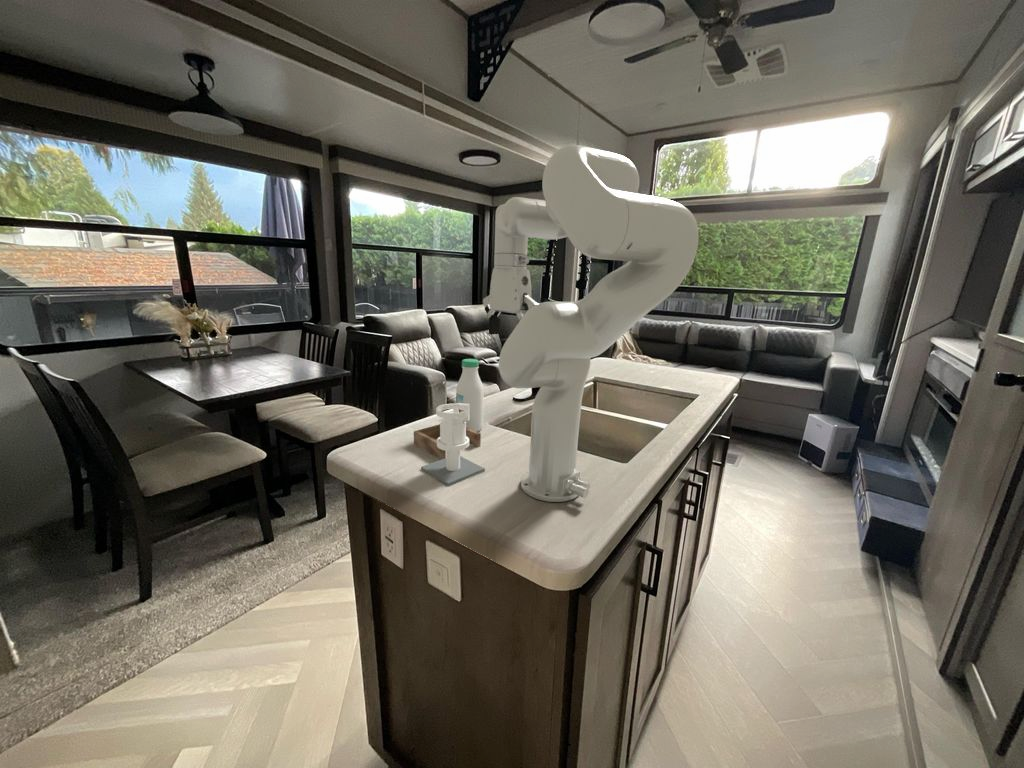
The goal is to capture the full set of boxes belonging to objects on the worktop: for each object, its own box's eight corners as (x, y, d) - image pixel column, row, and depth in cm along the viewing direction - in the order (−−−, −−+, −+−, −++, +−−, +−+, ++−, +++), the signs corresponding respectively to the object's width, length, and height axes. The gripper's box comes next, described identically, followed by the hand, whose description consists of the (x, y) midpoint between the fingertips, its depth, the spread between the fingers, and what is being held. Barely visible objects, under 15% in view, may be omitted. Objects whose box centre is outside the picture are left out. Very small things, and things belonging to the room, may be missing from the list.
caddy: (480, 446, 103) (480, 433, 102) (442, 459, 94) (442, 445, 93) (451, 432, 111) (451, 421, 110) (413, 444, 102) (413, 431, 101)
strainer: (466, 476, 85) (466, 409, 82) (433, 474, 86) (432, 407, 82) (471, 461, 92) (471, 399, 88) (441, 459, 93) (440, 397, 89)
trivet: (484, 471, 89) (484, 468, 89) (448, 485, 82) (448, 483, 82) (456, 456, 96) (456, 454, 96) (421, 469, 89) (421, 466, 89)
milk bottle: (484, 424, 118) (486, 358, 113) (480, 434, 110) (481, 363, 105) (459, 423, 119) (459, 356, 114) (452, 432, 111) (453, 361, 106)
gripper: (549, 263, 89) (545, 340, 94) (496, 263, 101) (494, 331, 105) (527, 261, 84) (523, 342, 88) (473, 261, 96) (472, 333, 100)
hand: (507, 336), depth 97 cm, fingers open, 9 cm apart
